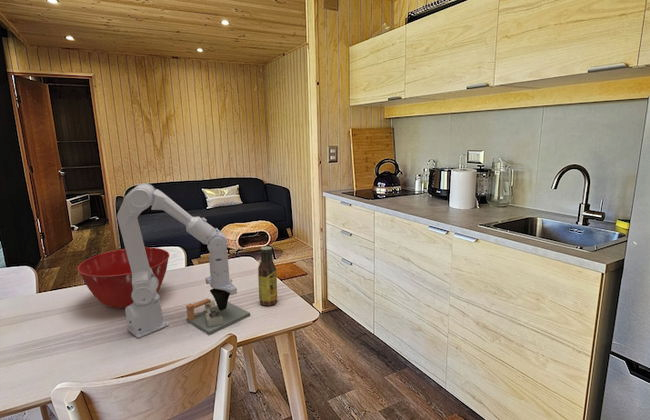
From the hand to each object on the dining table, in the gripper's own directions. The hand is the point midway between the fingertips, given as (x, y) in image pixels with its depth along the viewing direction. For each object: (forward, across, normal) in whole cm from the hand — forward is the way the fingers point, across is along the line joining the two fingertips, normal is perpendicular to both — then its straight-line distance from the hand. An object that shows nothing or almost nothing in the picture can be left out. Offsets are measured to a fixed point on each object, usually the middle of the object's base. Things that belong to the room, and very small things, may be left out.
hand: (222, 309), depth 120 cm
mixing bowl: (+3, +36, +14) cm, 38 cm away
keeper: (+2, +4, +6) cm, 8 cm away
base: (+2, 0, +2) cm, 3 cm away
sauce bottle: (+2, -4, -16) cm, 16 cm away
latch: (+1, 0, +4) cm, 4 cm away
